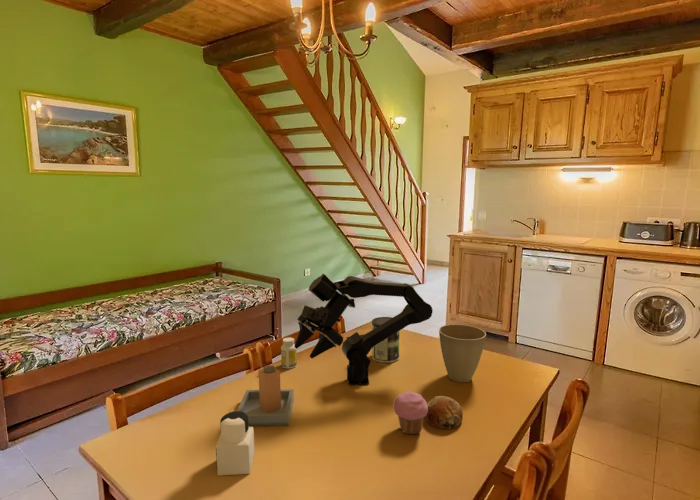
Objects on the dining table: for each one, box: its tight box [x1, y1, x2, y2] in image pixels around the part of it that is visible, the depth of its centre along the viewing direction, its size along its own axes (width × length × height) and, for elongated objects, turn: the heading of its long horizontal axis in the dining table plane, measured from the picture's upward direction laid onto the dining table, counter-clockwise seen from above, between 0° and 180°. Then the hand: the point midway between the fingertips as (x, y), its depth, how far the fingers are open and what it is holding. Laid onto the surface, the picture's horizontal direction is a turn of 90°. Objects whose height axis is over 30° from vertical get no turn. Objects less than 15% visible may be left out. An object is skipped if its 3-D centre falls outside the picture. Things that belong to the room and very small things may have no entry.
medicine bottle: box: [215, 410, 255, 476], centre depth 92 cm, size 7×7×12 cm
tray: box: [236, 388, 295, 427], centre depth 115 cm, size 14×14×3 cm
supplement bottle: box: [280, 337, 298, 370], centre depth 144 cm, size 5×5×10 cm
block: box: [258, 365, 282, 413], centre depth 115 cm, size 4×4×12 cm
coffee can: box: [371, 316, 400, 364], centre depth 151 cm, size 10×10×14 cm
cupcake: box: [393, 391, 428, 435], centre depth 106 cm, size 9×9×10 cm
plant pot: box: [438, 323, 487, 383], centre depth 134 cm, size 15×15×16 cm
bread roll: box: [425, 395, 464, 430], centre depth 111 cm, size 10×10×8 cm
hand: (302, 352), depth 122 cm, fingers open, 9 cm apart
